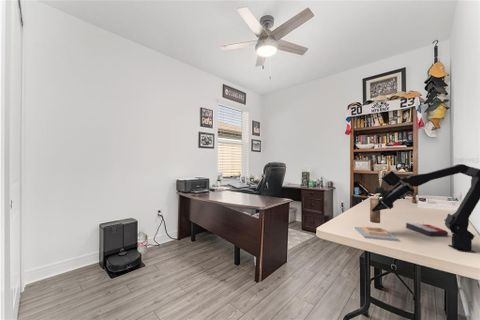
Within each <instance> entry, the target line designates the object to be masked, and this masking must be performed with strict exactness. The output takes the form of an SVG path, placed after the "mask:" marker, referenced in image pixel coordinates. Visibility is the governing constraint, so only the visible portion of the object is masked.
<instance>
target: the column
mask: <svg viewBox="0 0 480 320" xmlns="http://www.w3.org/2000/svg"><path fill="white" fill-rule="evenodd" d="M379 200H380V199H379ZM377 204H378V198H374V197H373V198H369V222H370V223H374V224H380V223H381V210H379V211H374V212H373V211H372V209H373V208H374V207H375V206H376V205H377Z"/></svg>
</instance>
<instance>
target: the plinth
mask: <svg viewBox="0 0 480 320" xmlns="http://www.w3.org/2000/svg"><path fill="white" fill-rule="evenodd" d="M354 230H355V231H357V232H358V233H359V234H360V235H361V236H362V237H363V238H364V239H374V240H382V241H392V242H400V239H399V238H398V237H397V236H395V235H394V234H392V233H391V232H389V231H387V230H386V229H383V228H382V227H372V226H363V225H362V227H360V226H354Z"/></svg>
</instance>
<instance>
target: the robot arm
mask: <svg viewBox="0 0 480 320" xmlns="http://www.w3.org/2000/svg"><path fill="white" fill-rule="evenodd" d="M457 174H462V175H465V176H468V177H470V178H471V179H470V188H469V189H468V191H467V192H466V194H465V196H464V197H463V200H462V201H461V202H460V204H459V206H458V208H457V209H456V211H455V212H454V213H453V214H451V213H447V216H446V218H445V219H444V220H443V221H444V225H445V227H446V228H447V229H448V230H450V232H451V244H447V246H448V247H451V248H452V249H454V250H456V251H458V252H465V253H467V252H468V253H476V252H477V251H476V250H474V249H472V244H473V243H472V241H473V240H474V238H475V236H476V235H474V234H473V233H472V232H471V231H469V230H468V228H469V223H470V216H471V215H472V213H473V212H474V209H476V206H477V205H478V203H479V201H480V168H476V167H472V166H470V165H466V164H462V163H461V164H460V163H459V164H454V165H453V166H448V167H445V168H441V169H436V170H434V171H430V172H427V173H420V174H410V175H408V176H406V177H403V176H402V177H400V176H398V175H397V174H396V173H395V172H394V170H390V171H389V172H388V173H385V174H384V175H383V176H382V177H380V180H382V181H383V182H384V183H386V185H388V187H391V186H392V188H391V189H385V187H383V186H379V185H376V186H375V187H374V189H373V192H375V193H378V195H377V196H378V197H377V199H378V204H377V205H376V206H375V207H374V208H373V209H372V211H373V212H374V211H379V210H380V211H382V210H391V209H393V208H394V203H395V202H397V201H398V200H400V199H401V198H402V197H404V196H405V195H407V194H408V193H409V192H410V194H412V195H414V194H415V188H414V187H419V186H422V185H424V184H426V183H428V182H430V181H434V180H439V179H441V178H446V177H449V176H453V175H457ZM410 186H411V187H410ZM412 187H413V188H412ZM379 199H380V200H379Z"/></svg>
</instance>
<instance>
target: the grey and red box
mask: <svg viewBox="0 0 480 320" xmlns="http://www.w3.org/2000/svg"><path fill="white" fill-rule="evenodd" d="M405 228H406V229H408V230H410V231H414V232H416V233H419V234H421V235H424V236H427V237H430V238H433V237H434V238H435V237H437V238H438V237H442V238H447V237H449V232H448V231H447V230H445V229H443V228H440V227H437V226H434V225H431V224H428V223H424V222H415V221H414V222H406V223H405Z"/></svg>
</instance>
